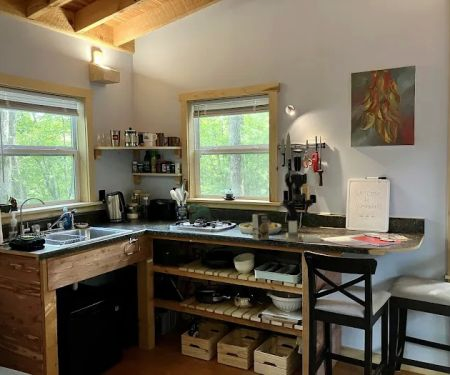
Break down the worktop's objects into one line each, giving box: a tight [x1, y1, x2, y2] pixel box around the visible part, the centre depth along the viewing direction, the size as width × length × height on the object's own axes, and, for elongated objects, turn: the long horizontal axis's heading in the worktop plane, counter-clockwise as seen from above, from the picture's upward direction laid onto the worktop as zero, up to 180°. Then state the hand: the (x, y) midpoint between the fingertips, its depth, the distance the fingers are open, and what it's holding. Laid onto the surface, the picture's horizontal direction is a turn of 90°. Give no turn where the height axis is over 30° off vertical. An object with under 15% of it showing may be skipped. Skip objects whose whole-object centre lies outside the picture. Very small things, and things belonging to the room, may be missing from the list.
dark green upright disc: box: [187, 199, 213, 224], centre depth 327 cm, size 20×6×20 cm, turn 119°
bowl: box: [238, 219, 282, 235], centre depth 296 cm, size 30×30×8 cm
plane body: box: [285, 232, 301, 243], centre depth 266 cm, size 19×8×8 cm, turn 173°
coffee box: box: [252, 212, 270, 241], centre depth 267 cm, size 9×6×16 cm
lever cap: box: [288, 221, 298, 233], centre depth 262 cm, size 4×5×10 cm
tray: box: [301, 234, 322, 243], centre depth 261 cm, size 11×11×2 cm
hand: (298, 215), depth 263 cm, fingers open, 9 cm apart
